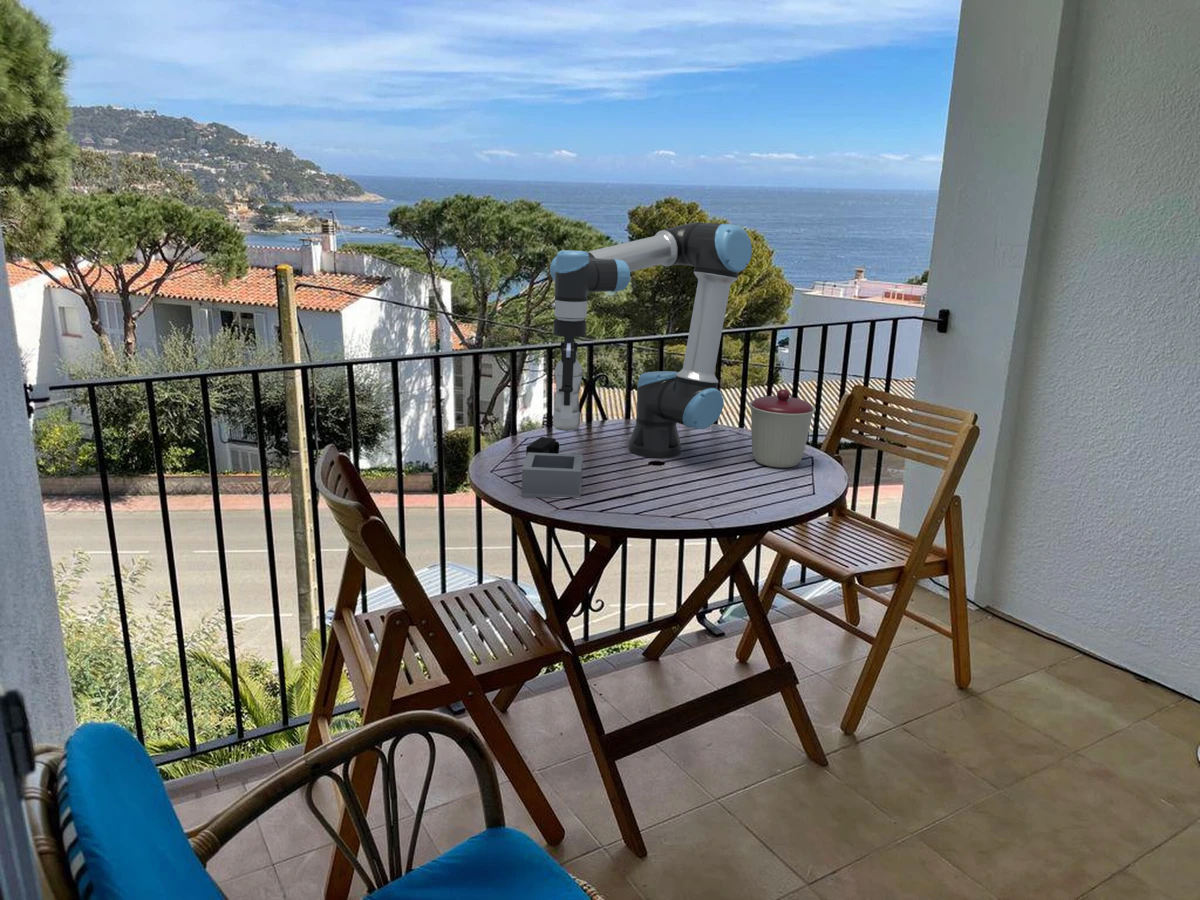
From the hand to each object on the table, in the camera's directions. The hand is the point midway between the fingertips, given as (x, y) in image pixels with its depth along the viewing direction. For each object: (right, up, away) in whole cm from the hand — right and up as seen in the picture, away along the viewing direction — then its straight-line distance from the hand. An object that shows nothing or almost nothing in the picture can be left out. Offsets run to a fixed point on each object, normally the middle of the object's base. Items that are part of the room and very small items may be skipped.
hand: (566, 414), depth 204 cm
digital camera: (-7, -13, +22) cm, 27 cm away
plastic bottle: (0, -4, +1) cm, 4 cm away
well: (-4, -18, +6) cm, 19 cm away
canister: (+58, -12, +35) cm, 68 cm away
